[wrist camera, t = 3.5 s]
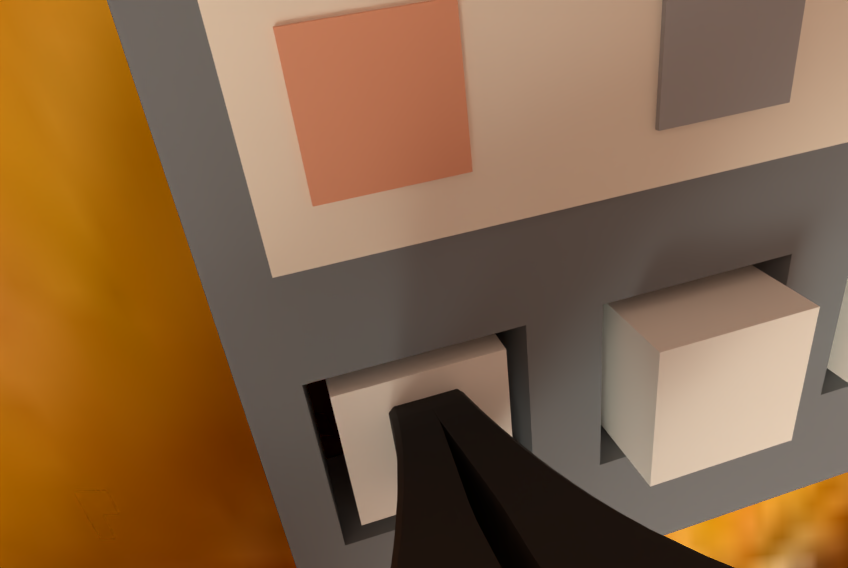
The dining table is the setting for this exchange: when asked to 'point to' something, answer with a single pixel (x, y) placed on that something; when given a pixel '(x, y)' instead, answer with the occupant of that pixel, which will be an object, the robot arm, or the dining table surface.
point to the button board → (496, 210)
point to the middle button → (704, 371)
